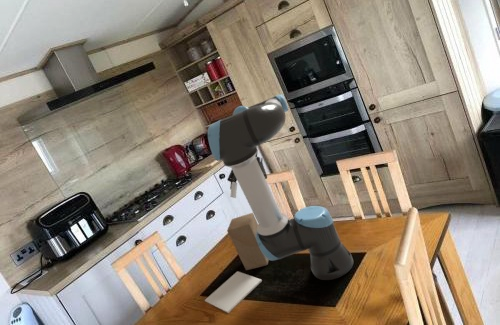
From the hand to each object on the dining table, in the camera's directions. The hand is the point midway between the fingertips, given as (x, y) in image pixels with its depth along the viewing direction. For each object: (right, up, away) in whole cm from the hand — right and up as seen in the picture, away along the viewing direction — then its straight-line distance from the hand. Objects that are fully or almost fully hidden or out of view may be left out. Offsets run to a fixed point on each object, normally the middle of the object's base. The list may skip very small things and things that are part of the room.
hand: (245, 196), depth 156 cm
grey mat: (-4, -36, -11) cm, 38 cm away
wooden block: (+6, -28, +2) cm, 28 cm away
